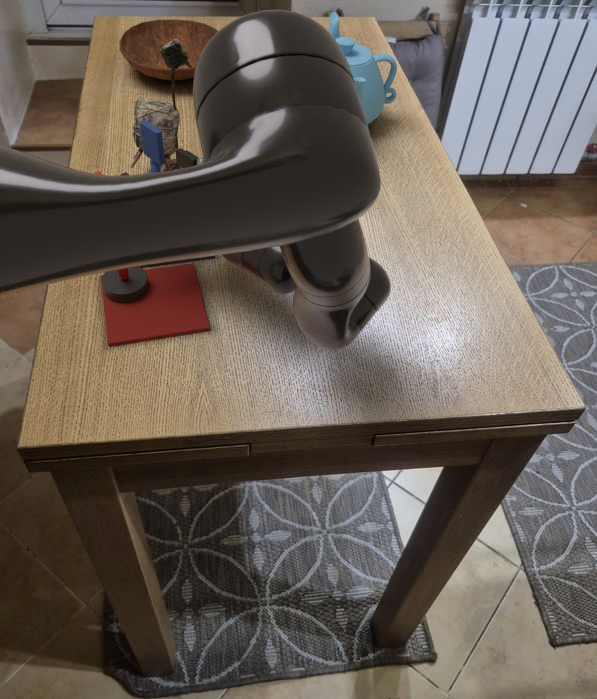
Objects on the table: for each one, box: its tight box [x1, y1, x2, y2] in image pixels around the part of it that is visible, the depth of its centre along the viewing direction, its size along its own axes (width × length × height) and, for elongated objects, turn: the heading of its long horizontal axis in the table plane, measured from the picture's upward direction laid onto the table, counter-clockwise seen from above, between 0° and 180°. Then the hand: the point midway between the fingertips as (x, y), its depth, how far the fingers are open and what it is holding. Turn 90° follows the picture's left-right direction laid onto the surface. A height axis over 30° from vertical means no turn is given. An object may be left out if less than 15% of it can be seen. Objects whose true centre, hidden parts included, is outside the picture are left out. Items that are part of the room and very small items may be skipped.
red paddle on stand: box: [93, 170, 149, 303], centre depth 72 cm, size 6×6×16 cm
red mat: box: [99, 262, 211, 347], centre depth 77 cm, size 12×12×1 cm
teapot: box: [327, 11, 398, 126], centre depth 104 cm, size 16×20×14 cm
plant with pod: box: [129, 39, 192, 172], centre depth 88 cm, size 8×11×20 cm
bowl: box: [118, 19, 219, 81], centre depth 117 cm, size 20×22×5 cm
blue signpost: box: [139, 120, 165, 173], centre depth 79 cm, size 6×6×16 cm
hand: (151, 167), depth 78 cm, fingers open, 8 cm apart
